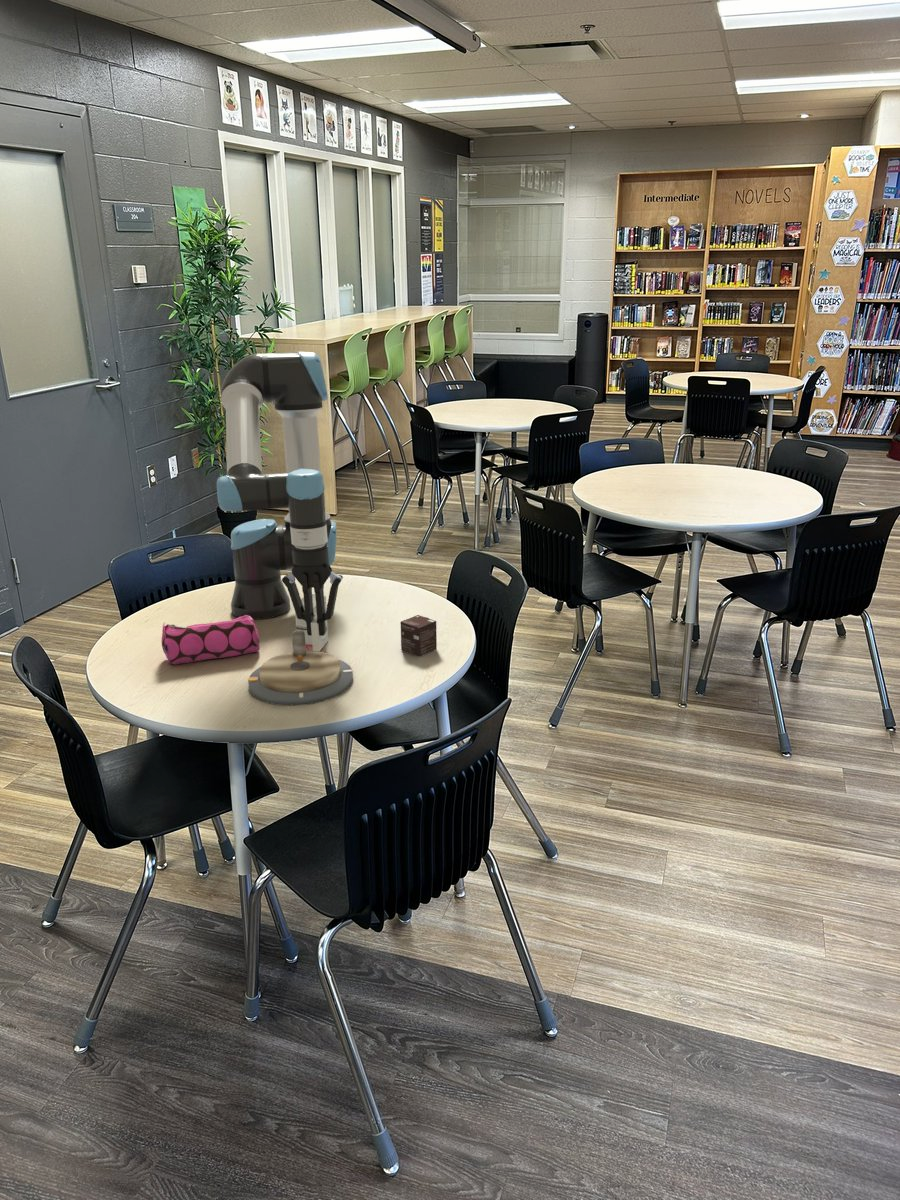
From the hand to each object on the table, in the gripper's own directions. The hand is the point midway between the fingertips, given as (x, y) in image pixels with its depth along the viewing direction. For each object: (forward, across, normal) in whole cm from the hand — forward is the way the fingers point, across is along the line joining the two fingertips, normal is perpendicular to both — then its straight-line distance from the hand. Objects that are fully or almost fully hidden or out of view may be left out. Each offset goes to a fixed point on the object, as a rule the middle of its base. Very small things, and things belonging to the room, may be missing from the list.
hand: (317, 648), depth 194 cm
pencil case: (+5, -26, +5) cm, 27 cm away
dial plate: (+5, -2, -6) cm, 9 cm away
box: (+5, +20, +12) cm, 24 cm away
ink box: (+5, -5, +13) cm, 14 cm away
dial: (+4, -2, -6) cm, 8 cm away
